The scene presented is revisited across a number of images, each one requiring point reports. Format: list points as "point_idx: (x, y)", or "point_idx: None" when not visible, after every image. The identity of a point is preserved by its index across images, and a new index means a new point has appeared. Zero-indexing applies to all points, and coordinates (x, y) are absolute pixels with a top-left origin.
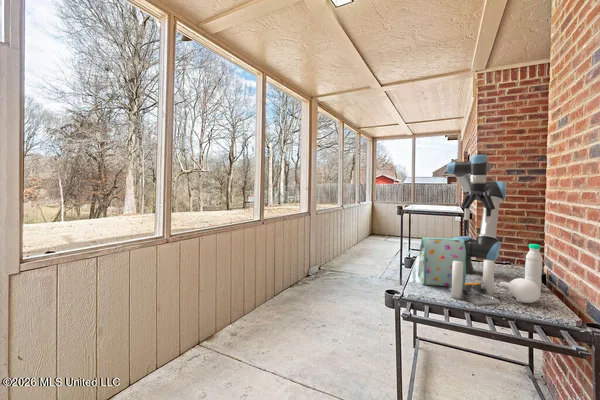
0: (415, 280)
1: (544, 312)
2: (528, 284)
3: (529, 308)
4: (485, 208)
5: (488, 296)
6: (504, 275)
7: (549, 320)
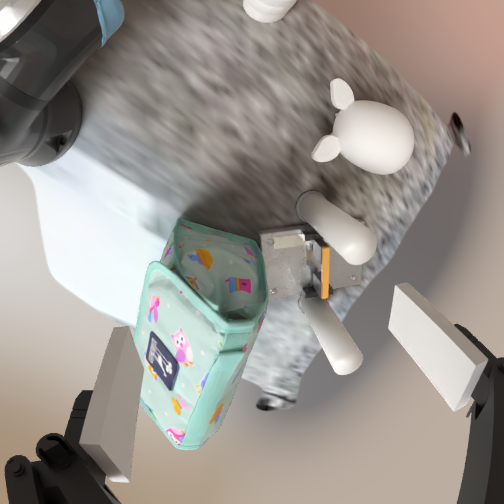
0: None
1: None
2: (410, 155)
3: None
4: (472, 422)
5: None
6: None
7: (436, 181)
